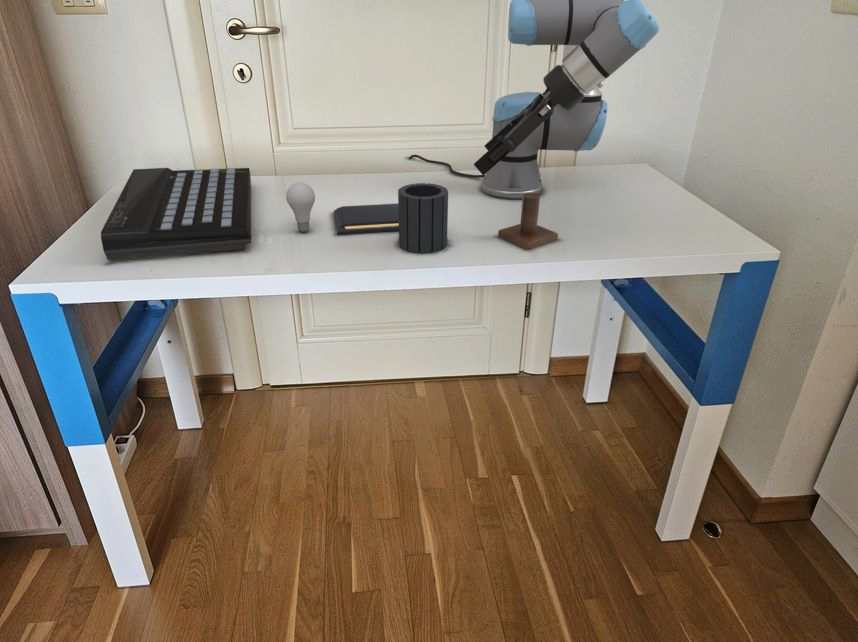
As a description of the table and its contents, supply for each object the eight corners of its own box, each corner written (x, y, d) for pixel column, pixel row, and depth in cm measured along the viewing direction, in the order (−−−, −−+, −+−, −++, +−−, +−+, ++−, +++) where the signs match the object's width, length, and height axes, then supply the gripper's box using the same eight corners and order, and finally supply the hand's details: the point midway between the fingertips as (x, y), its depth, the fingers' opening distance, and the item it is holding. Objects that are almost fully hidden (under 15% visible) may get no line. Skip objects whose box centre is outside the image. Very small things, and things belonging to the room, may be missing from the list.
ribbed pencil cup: (390, 241, 139) (388, 189, 133) (427, 231, 144) (427, 180, 138) (418, 257, 132) (418, 202, 126) (456, 245, 137) (457, 192, 131)
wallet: (417, 199, 156) (426, 222, 143) (417, 207, 157) (425, 230, 144) (333, 203, 154) (334, 226, 141) (333, 211, 155) (335, 235, 142)
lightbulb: (295, 239, 140) (289, 189, 134) (286, 229, 145) (280, 180, 139) (322, 234, 142) (318, 184, 137) (312, 225, 147) (308, 177, 141)
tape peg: (497, 236, 141) (500, 194, 136) (527, 227, 146) (531, 186, 141) (527, 249, 135) (531, 205, 130) (557, 239, 140) (562, 196, 135)
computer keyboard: (252, 253, 133) (247, 222, 130) (107, 265, 128) (98, 233, 125) (252, 186, 171) (248, 160, 167) (139, 193, 166) (133, 167, 162)
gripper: (585, 110, 105) (487, 194, 116) (587, 84, 126) (504, 157, 137) (555, 73, 104) (459, 162, 114) (562, 53, 124) (480, 130, 135)
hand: (483, 159), depth 126 cm, fingers open, 13 cm apart
